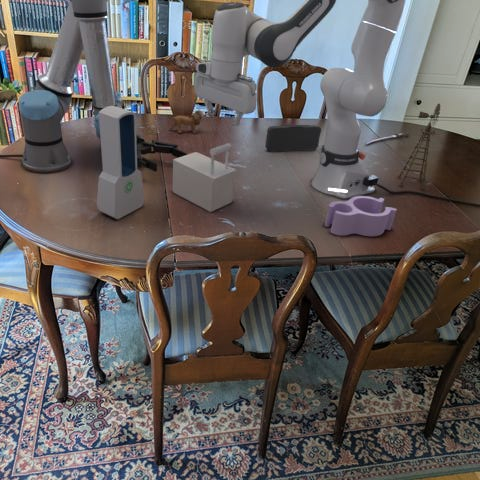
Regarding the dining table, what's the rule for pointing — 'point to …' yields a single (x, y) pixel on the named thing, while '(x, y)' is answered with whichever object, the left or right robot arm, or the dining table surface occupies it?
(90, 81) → the left robot arm
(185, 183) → the chest
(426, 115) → the miniature windmill
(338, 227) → the clip
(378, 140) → the sword
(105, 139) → the electronic device
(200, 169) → the lid
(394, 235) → the dining table surface
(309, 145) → the handheld gaming console
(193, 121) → the lion figurine
